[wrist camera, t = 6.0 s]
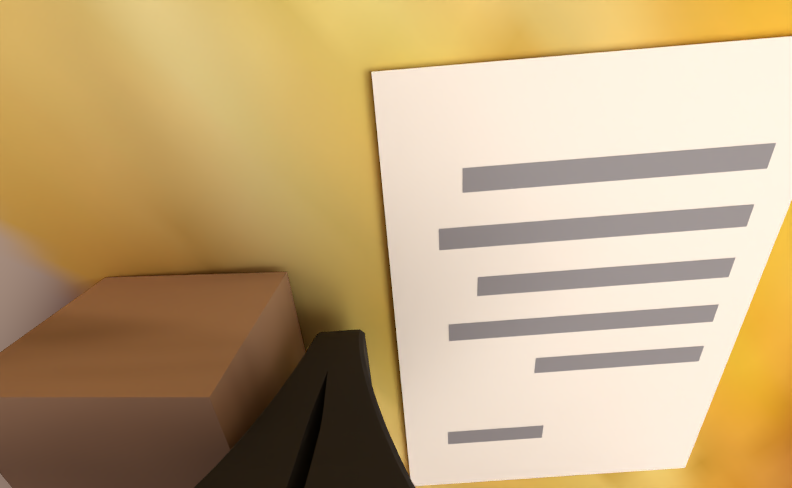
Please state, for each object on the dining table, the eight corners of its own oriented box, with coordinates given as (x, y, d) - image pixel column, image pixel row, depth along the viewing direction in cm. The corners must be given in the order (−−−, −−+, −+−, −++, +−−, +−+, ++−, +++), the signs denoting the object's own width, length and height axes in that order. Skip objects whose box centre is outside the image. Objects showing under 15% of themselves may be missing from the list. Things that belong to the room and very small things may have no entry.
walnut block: (318, 409, 12) (274, 560, 9) (167, 409, 13) (65, 552, 9) (287, 271, 10) (209, 397, 6) (105, 277, 10) (-63, 396, 7)
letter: (681, 462, 14) (685, 467, 14) (410, 481, 14) (411, 486, 14) (848, 31, 8) (858, 30, 8) (371, 71, 8) (371, 72, 8)
